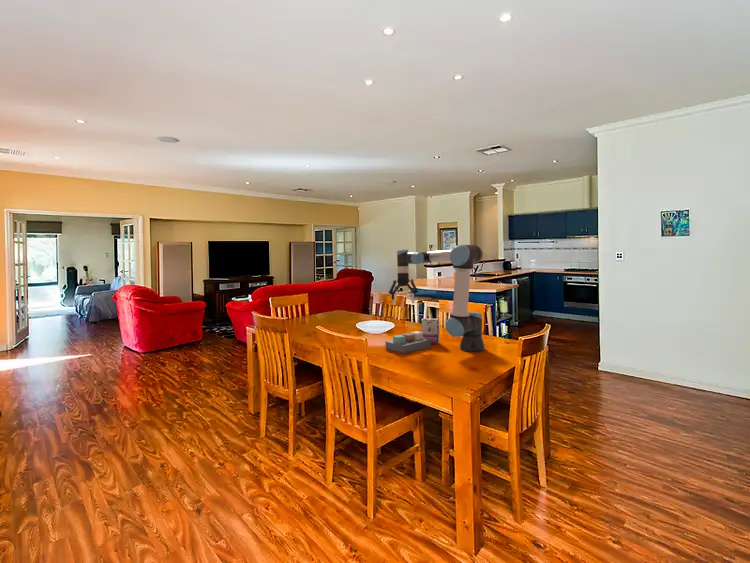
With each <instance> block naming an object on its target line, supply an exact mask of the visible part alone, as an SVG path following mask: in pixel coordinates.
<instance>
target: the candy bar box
mask: <svg viewBox="0 0 750 563" xmlns="http://www.w3.org/2000/svg"><path fill="white" fill-rule="evenodd" d="M420 322H421V324H420V325H421V326H420V328H421V331H420V332H423V338H427V339H431V345H439V344H440V318H427V317H426V318H424V317H422V318H421V320H420Z"/></svg>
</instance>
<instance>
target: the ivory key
mask: <svg viewBox="0 0 750 563" xmlns="http://www.w3.org/2000/svg"><path fill="white" fill-rule="evenodd" d="M410 333H411V334H414V340H420V339H423V332H421V331H418V330H416V331H411V332H410Z"/></svg>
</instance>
